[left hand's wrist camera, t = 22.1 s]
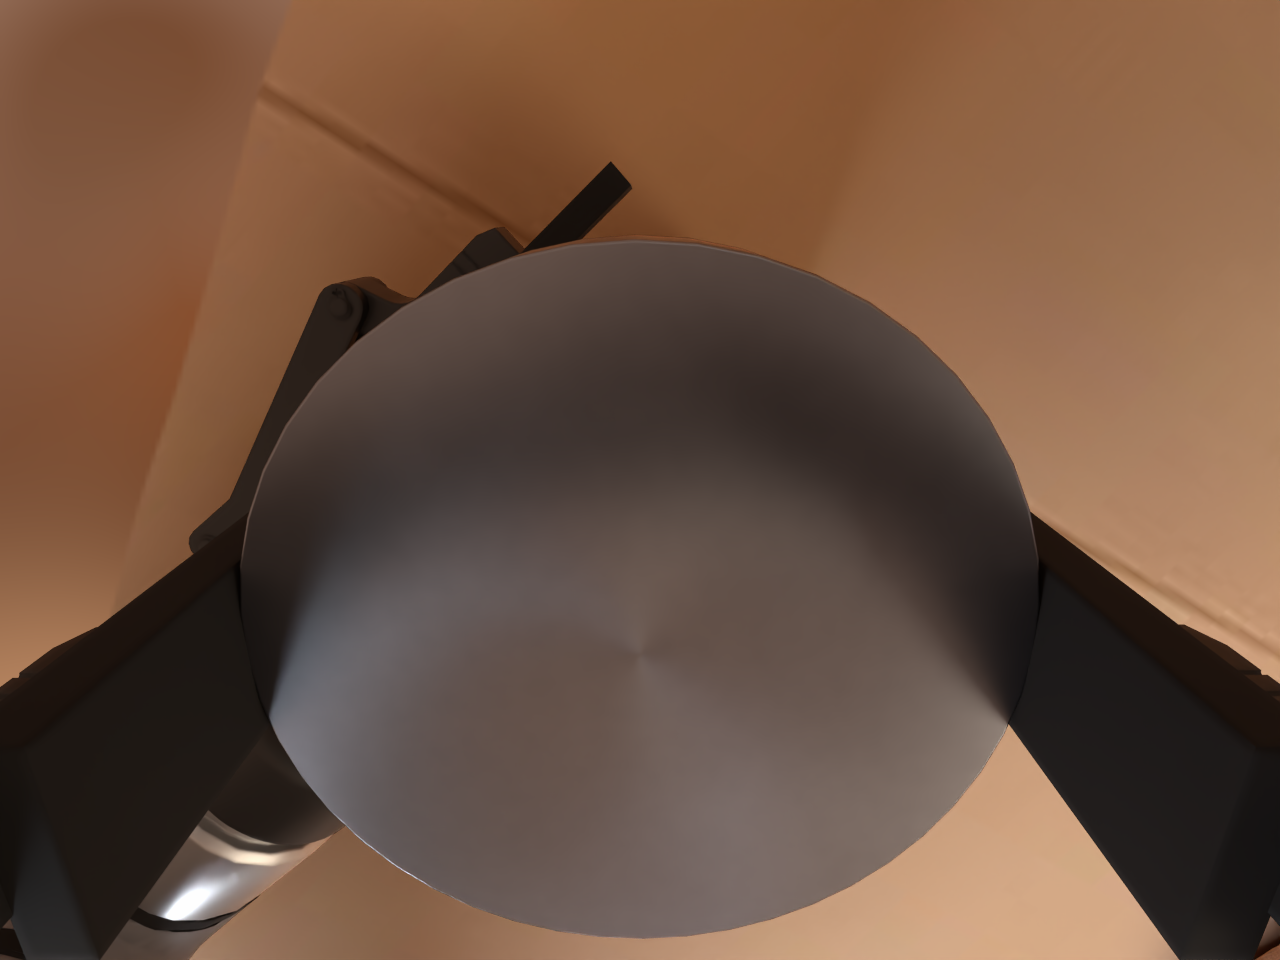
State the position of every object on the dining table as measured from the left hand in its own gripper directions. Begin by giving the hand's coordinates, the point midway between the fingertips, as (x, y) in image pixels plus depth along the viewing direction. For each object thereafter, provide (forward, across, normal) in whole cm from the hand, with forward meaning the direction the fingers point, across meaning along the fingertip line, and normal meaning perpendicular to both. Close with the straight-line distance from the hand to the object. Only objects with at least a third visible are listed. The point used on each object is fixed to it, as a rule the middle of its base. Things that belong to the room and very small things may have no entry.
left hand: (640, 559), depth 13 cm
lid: (-3, 0, 0) cm, 3 cm away
